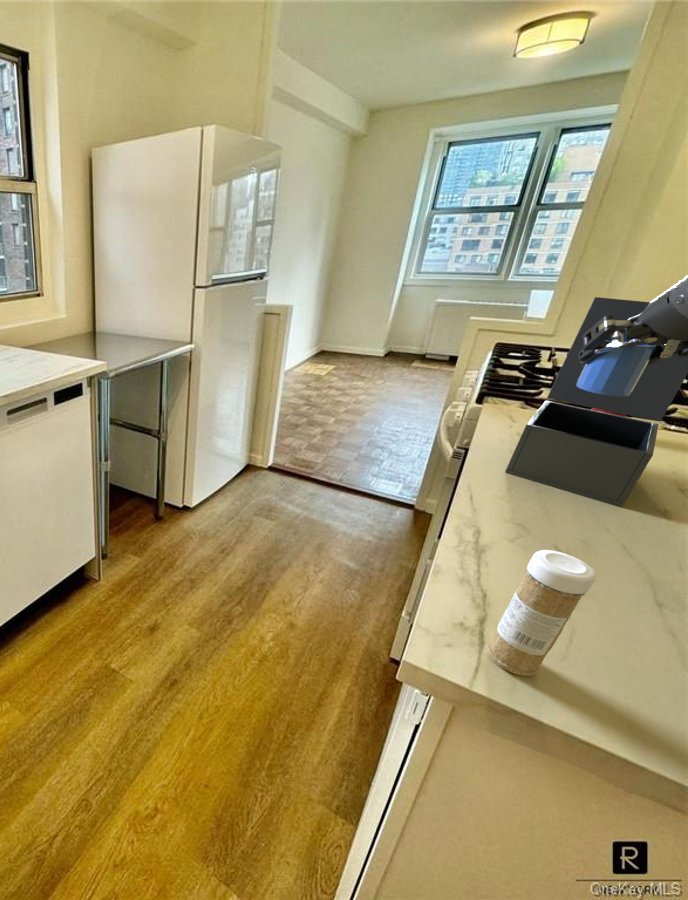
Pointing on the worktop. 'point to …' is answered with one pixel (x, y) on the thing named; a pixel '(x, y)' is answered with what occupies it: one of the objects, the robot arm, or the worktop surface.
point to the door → (651, 387)
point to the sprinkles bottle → (539, 611)
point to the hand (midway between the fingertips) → (609, 360)
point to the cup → (616, 370)
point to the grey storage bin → (584, 451)
